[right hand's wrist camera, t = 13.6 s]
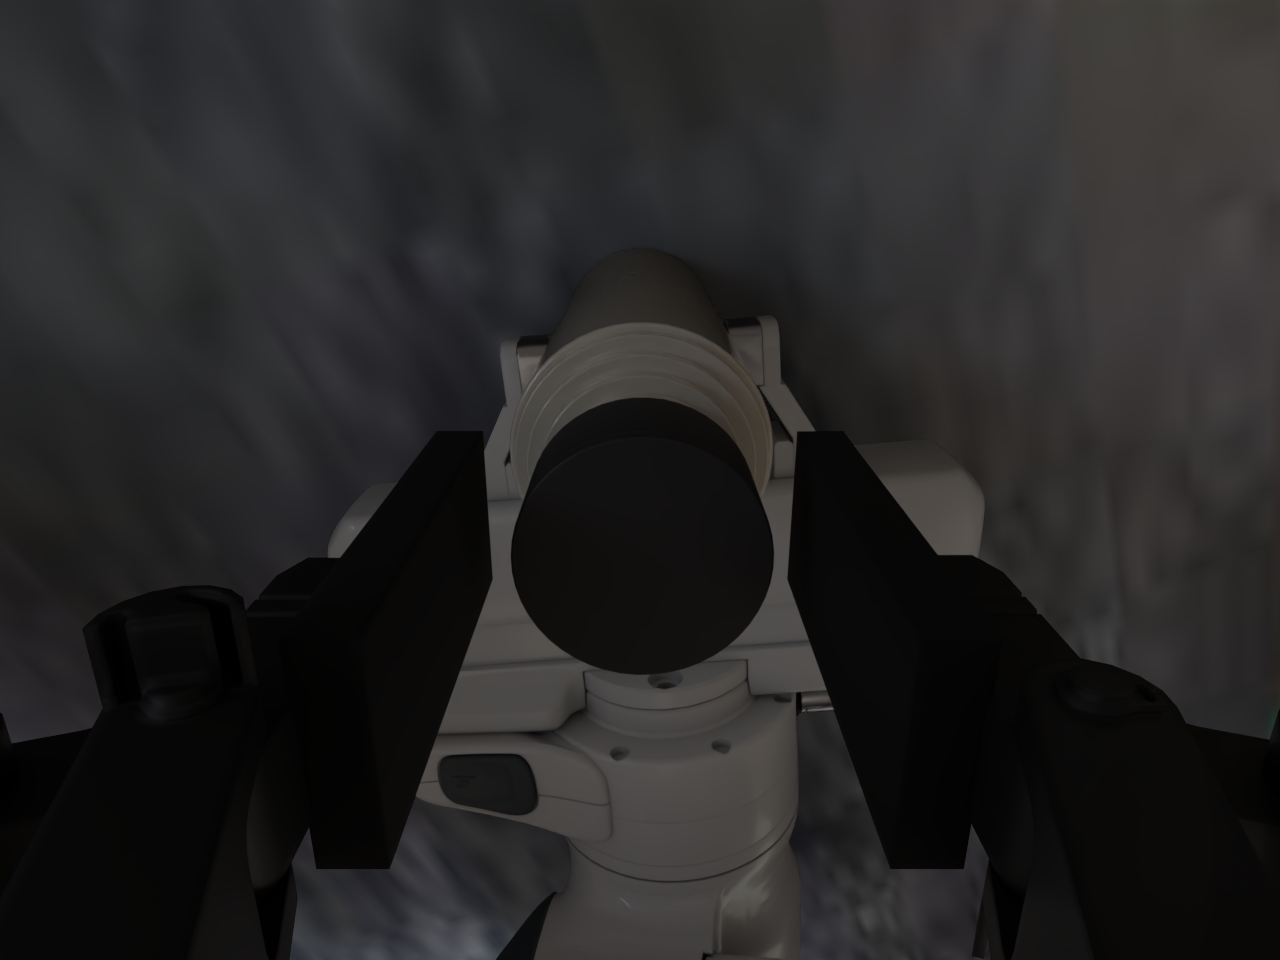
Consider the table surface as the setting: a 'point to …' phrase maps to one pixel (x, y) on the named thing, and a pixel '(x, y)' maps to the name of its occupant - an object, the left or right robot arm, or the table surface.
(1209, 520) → the table surface
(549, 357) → the ridged cream cylinder
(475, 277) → the table surface
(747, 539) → the cap
